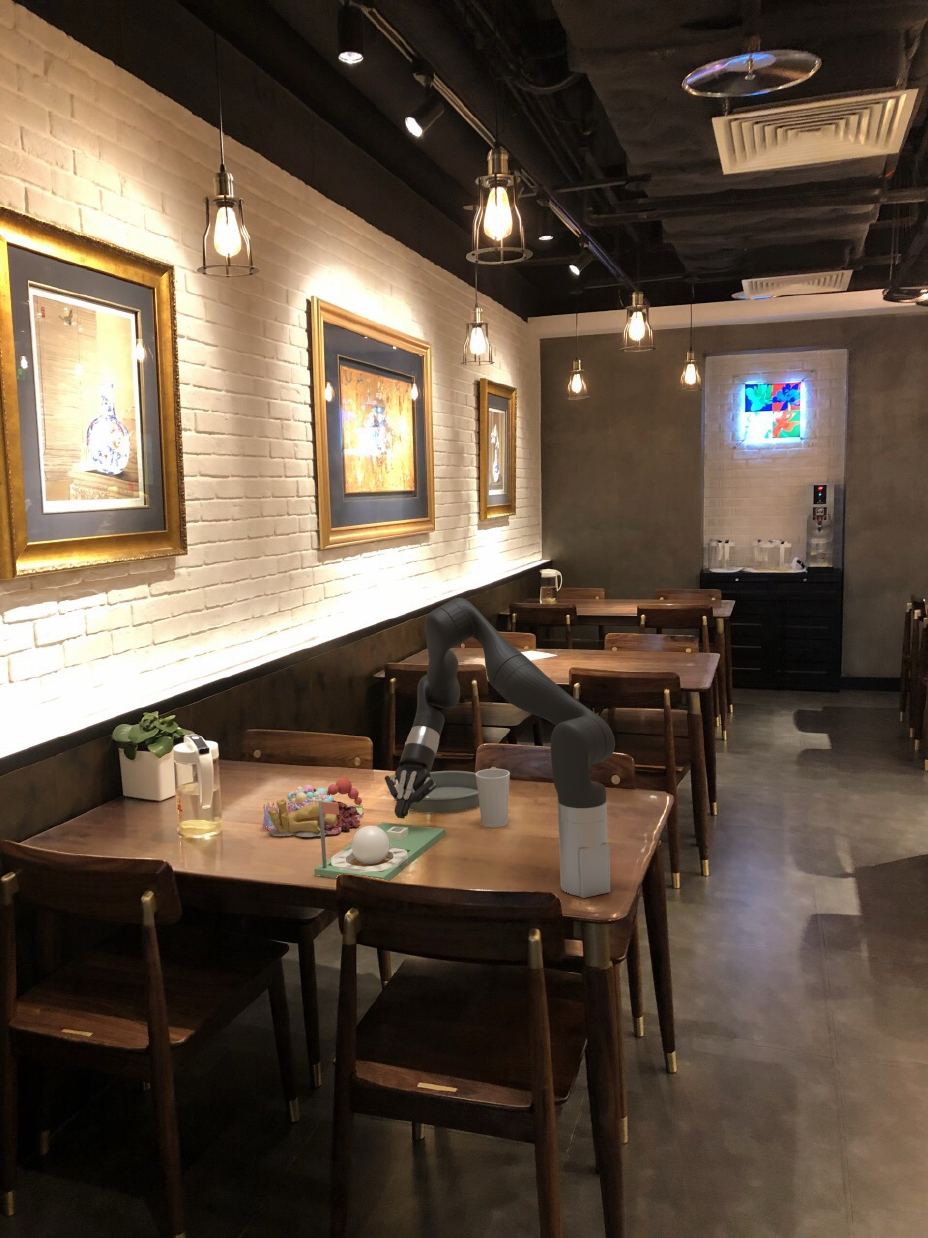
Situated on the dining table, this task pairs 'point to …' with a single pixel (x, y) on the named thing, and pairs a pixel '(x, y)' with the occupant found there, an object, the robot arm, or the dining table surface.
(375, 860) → the ball
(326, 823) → the coral reef model
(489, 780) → the cup
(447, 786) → the round baking tin
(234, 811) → the dining table surface
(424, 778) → the robot arm
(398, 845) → the mini golf board
